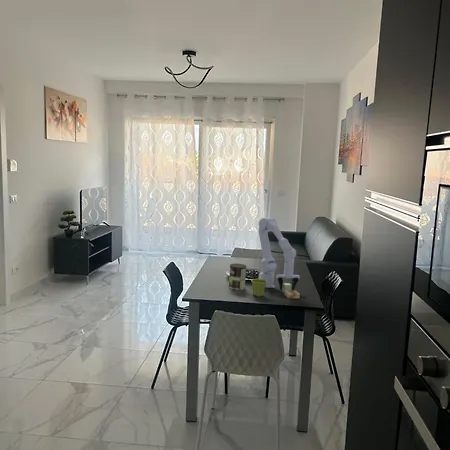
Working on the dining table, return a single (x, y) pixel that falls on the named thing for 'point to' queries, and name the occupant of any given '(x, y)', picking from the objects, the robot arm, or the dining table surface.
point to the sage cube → (286, 287)
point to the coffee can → (237, 276)
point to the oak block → (292, 294)
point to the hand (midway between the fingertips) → (286, 289)
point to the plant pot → (258, 286)
